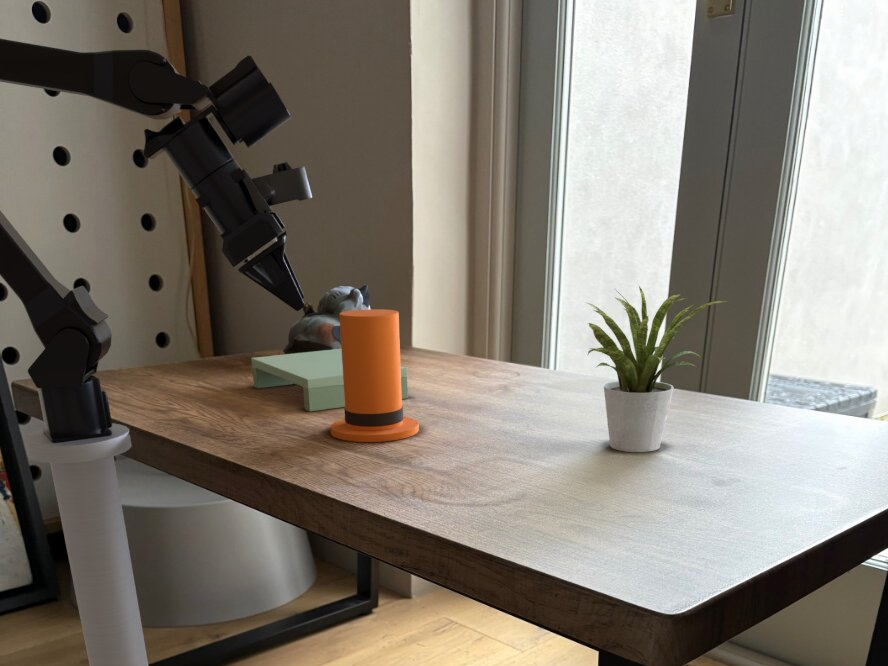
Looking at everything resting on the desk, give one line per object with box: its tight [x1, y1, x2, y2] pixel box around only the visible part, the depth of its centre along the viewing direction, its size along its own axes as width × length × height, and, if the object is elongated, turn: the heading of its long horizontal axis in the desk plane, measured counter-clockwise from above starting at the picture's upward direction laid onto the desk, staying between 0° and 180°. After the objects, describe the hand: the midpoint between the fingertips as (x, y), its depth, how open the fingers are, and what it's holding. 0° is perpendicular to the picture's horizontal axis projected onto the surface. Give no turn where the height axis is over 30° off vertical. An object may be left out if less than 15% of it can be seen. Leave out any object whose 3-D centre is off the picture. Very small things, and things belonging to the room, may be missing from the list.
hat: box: [329, 308, 420, 443], centre depth 103 cm, size 10×10×13 cm
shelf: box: [250, 349, 409, 412], centre depth 126 cm, size 14×20×4 cm
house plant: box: [583, 285, 729, 453], centre depth 95 cm, size 14×14×16 cm
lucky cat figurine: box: [282, 284, 371, 355], centre depth 149 cm, size 15×12×14 cm
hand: (301, 304), depth 104 cm, fingers open, 9 cm apart
